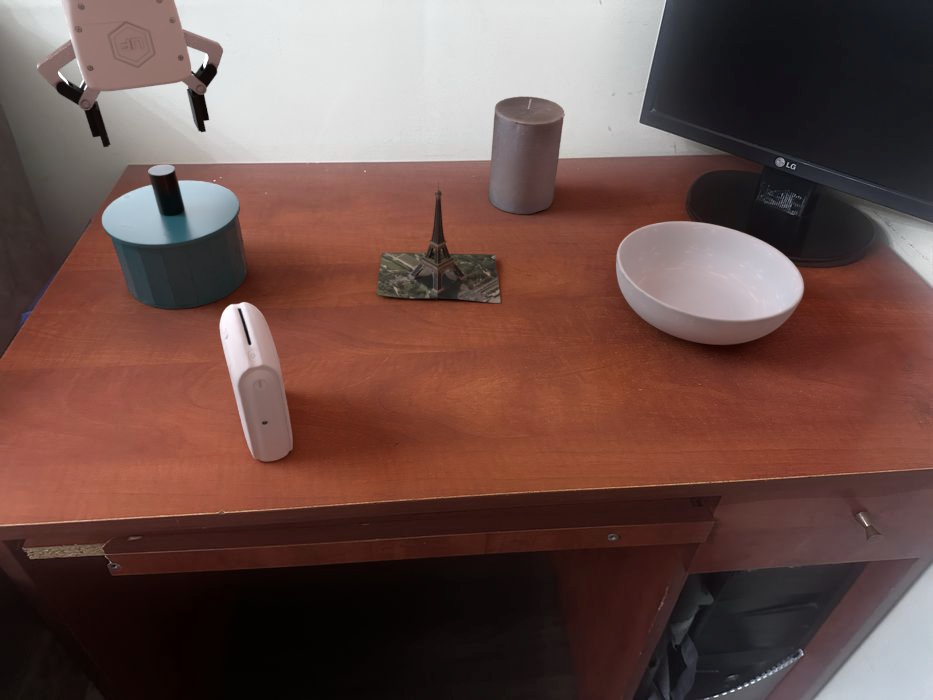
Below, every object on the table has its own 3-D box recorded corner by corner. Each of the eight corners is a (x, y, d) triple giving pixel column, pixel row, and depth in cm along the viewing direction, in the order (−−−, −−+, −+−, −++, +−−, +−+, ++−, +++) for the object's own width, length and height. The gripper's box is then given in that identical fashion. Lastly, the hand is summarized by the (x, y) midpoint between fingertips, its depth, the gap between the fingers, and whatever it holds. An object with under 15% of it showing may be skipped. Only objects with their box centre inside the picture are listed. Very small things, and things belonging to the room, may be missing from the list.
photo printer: (299, 456, 66) (281, 354, 58) (252, 469, 64) (227, 366, 56) (277, 385, 73) (258, 286, 65) (234, 395, 71) (210, 295, 63)
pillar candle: (494, 180, 110) (500, 83, 100) (556, 188, 109) (569, 91, 99) (482, 210, 102) (488, 108, 93) (549, 219, 101) (562, 117, 92)
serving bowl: (823, 337, 82) (846, 288, 78) (688, 393, 74) (705, 342, 70) (698, 250, 96) (711, 205, 92) (572, 290, 88) (580, 242, 83)
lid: (112, 265, 74) (94, 213, 71) (98, 202, 85) (82, 153, 81) (254, 236, 80) (246, 186, 76) (225, 179, 90) (216, 133, 86)
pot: (136, 321, 80) (115, 257, 74) (121, 258, 90) (101, 198, 84) (260, 292, 85) (248, 230, 80) (233, 236, 95) (221, 177, 89)
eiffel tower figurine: (496, 257, 93) (503, 162, 84) (500, 303, 85) (508, 203, 77) (382, 255, 92) (377, 159, 84) (375, 300, 85) (369, 200, 76)
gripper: (0, -28, 59) (68, 163, 70) (211, -42, 65) (243, 135, 77) (-1, -47, 64) (63, 133, 75) (196, -59, 70) (228, 110, 82)
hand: (154, 134), depth 76 cm, fingers open, 9 cm apart
